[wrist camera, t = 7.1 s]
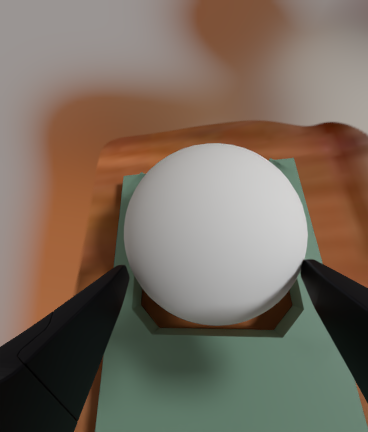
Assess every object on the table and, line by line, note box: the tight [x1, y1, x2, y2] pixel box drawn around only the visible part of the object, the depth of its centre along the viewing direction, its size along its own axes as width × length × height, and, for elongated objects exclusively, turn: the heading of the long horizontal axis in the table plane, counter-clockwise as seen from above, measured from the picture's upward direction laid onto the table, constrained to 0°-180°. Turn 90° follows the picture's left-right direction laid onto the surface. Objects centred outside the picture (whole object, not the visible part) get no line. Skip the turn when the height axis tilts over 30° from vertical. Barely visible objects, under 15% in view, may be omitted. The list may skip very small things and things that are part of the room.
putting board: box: [95, 158, 368, 432], centre depth 14 cm, size 31×17×2 cm, turn 1°
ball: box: [124, 143, 308, 326], centre depth 12 cm, size 11×11×11 cm
